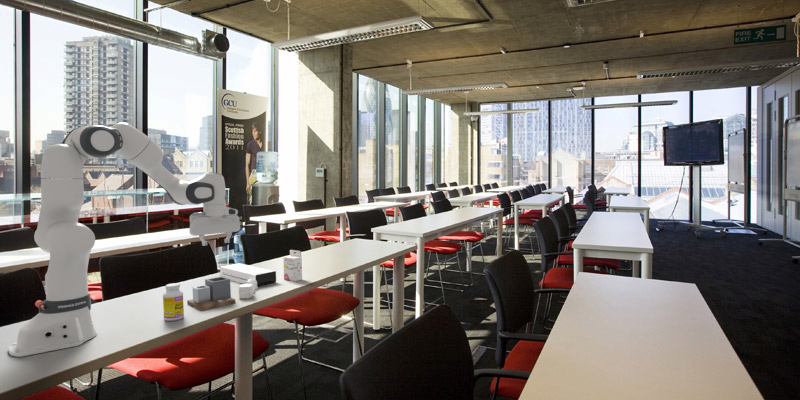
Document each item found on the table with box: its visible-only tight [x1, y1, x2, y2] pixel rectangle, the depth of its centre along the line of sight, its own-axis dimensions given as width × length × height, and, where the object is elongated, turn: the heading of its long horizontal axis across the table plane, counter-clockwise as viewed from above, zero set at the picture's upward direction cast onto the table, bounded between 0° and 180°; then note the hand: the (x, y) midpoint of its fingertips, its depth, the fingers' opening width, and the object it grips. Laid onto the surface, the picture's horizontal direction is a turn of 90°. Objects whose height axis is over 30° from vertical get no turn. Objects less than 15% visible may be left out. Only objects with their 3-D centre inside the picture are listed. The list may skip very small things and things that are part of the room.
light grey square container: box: [192, 284, 211, 304], centre depth 184 cm, size 5×5×6 cm
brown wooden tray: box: [186, 297, 236, 312], centre depth 186 cm, size 14×14×2 cm
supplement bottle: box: [162, 282, 185, 322], centre depth 167 cm, size 7×7×13 cm
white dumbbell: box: [238, 278, 259, 299], centre depth 203 cm, size 20×5×6 cm, turn 9°
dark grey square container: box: [204, 276, 232, 302], centre depth 189 cm, size 7×7×8 cm
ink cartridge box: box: [283, 249, 303, 282], centre depth 226 cm, size 9×5×15 cm, turn 58°
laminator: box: [219, 262, 277, 288], centre depth 228 cm, size 34×12×6 cm, turn 49°
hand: (216, 244), depth 188 cm, fingers open, 8 cm apart
